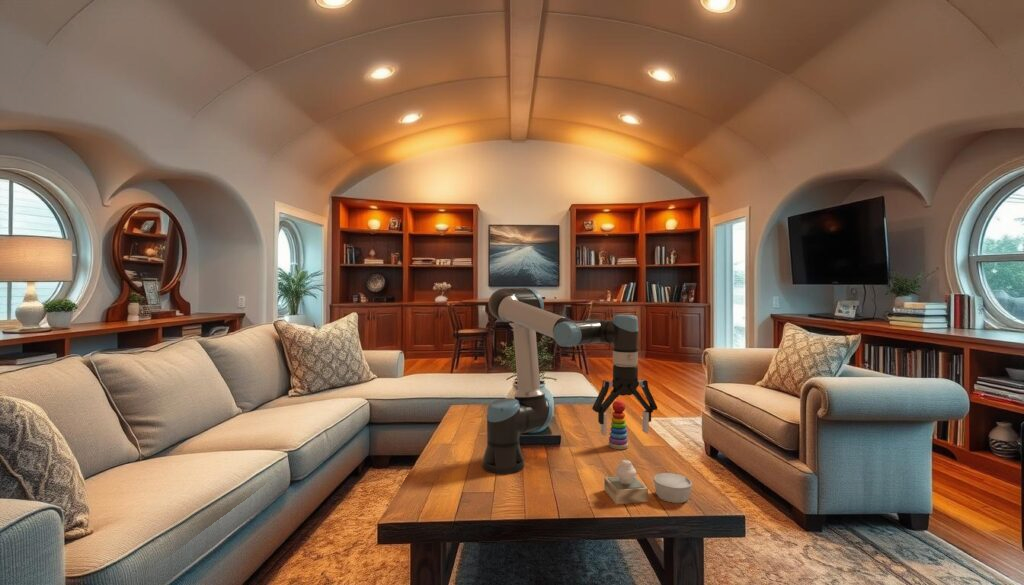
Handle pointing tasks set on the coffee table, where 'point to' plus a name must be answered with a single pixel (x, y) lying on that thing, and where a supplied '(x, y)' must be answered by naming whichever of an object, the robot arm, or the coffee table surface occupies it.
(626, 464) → the small white vase
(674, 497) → the ramekin
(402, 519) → the coffee table surface
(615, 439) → the stacking toy
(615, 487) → the base block
